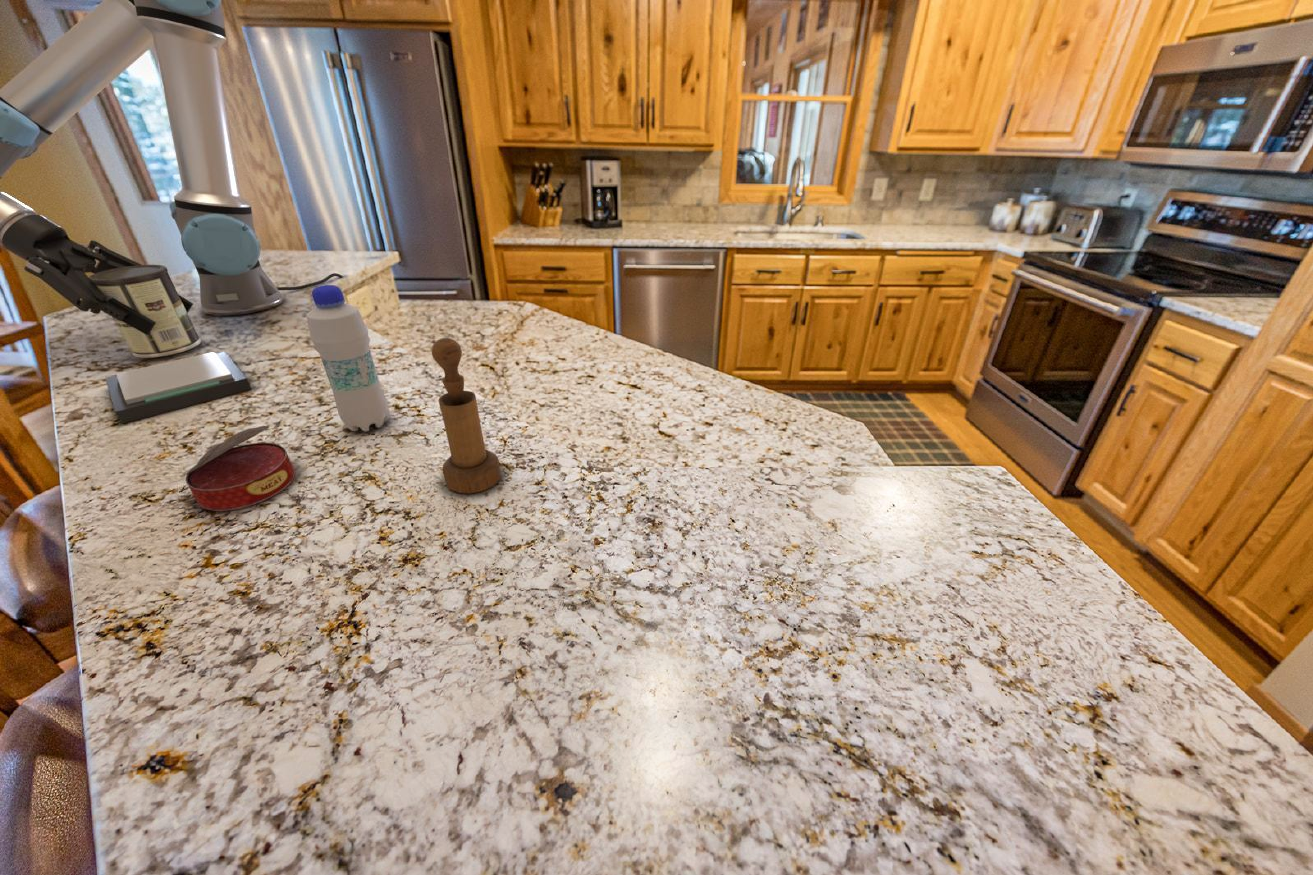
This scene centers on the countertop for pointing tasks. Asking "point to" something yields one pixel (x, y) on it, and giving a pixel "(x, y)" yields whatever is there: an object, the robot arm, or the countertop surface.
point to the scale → (174, 385)
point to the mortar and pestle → (463, 428)
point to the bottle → (347, 359)
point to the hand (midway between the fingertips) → (171, 318)
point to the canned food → (239, 473)
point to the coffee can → (149, 309)
